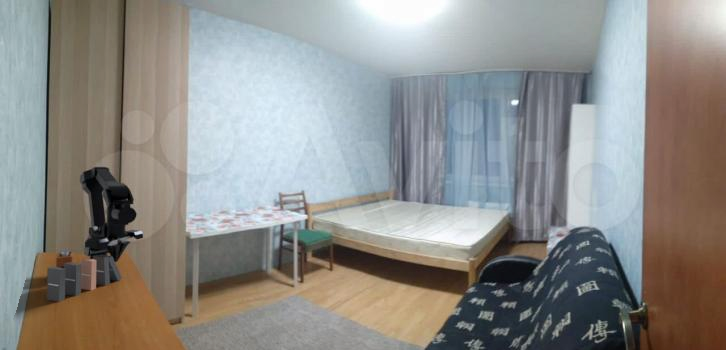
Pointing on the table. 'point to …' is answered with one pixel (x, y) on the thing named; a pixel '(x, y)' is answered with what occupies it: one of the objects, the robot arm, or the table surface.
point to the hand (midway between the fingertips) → (115, 261)
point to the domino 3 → (88, 274)
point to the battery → (64, 258)
